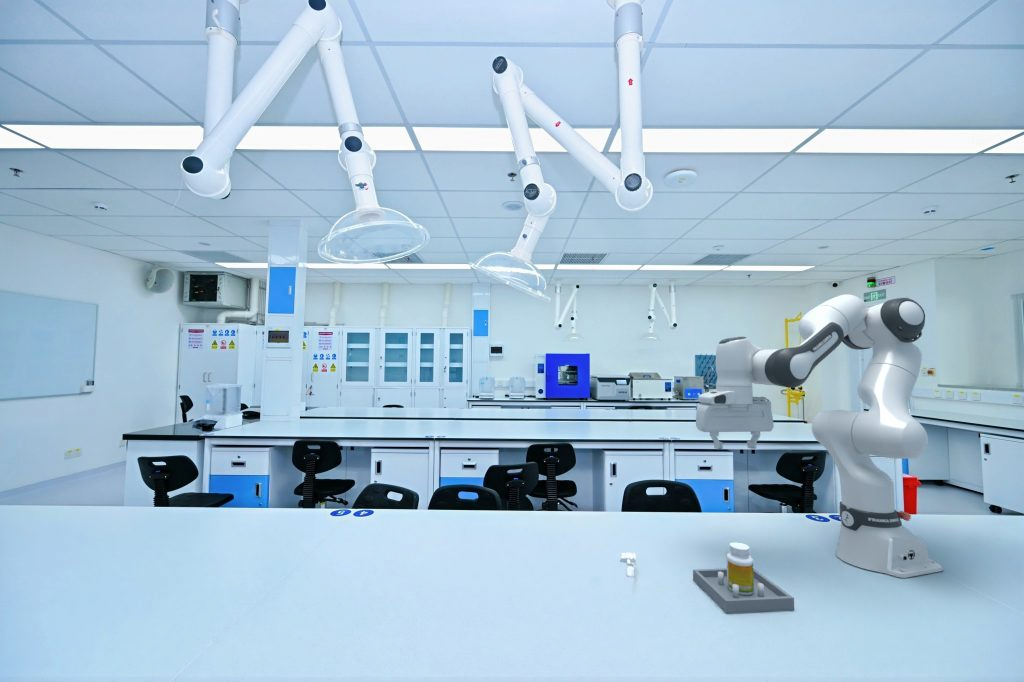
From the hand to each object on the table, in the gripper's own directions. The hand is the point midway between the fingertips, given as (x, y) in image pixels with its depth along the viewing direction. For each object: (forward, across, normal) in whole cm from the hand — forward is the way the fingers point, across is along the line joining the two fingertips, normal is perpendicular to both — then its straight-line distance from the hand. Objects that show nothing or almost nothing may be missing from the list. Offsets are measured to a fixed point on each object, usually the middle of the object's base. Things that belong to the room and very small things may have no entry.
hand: (735, 448), depth 118 cm
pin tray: (+29, +10, +17) cm, 35 cm away
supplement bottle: (+28, +10, +17) cm, 34 cm away
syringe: (+30, +31, +5) cm, 43 cm away
